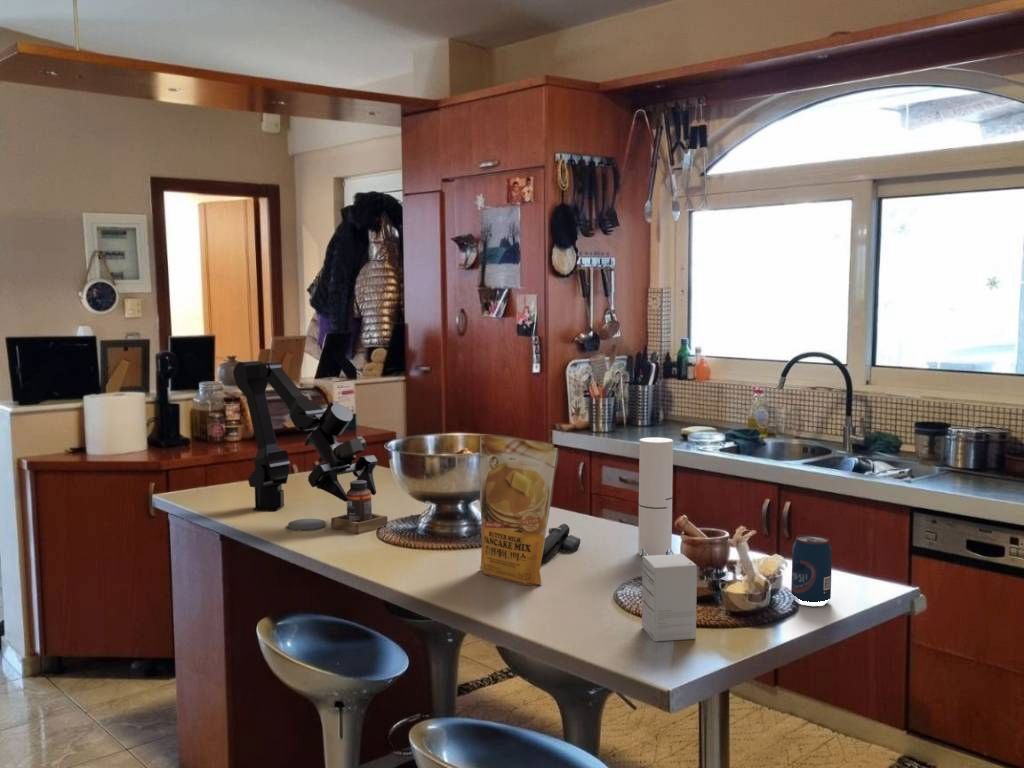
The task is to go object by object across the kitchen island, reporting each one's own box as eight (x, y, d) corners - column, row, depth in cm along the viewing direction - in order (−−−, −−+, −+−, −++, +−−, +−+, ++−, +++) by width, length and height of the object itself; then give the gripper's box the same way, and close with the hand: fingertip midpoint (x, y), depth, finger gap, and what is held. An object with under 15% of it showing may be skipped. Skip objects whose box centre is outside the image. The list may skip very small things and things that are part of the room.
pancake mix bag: (490, 564, 206) (489, 431, 203) (560, 582, 193) (561, 441, 191) (467, 571, 201) (466, 435, 198) (538, 590, 188) (539, 445, 186)
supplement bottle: (374, 524, 240) (373, 479, 239) (368, 530, 234) (367, 484, 233) (350, 524, 241) (349, 478, 240) (344, 530, 235) (343, 483, 234)
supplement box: (682, 624, 169) (683, 552, 167) (696, 640, 161) (698, 564, 160) (640, 627, 168) (641, 554, 166) (653, 642, 160) (654, 566, 159)
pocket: (331, 528, 237) (331, 518, 237) (360, 520, 244) (360, 511, 244) (358, 534, 231) (358, 523, 231) (387, 526, 239) (387, 516, 238)
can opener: (555, 544, 223) (555, 519, 222) (584, 547, 220) (584, 522, 220) (523, 563, 207) (523, 537, 206) (553, 567, 204) (554, 541, 203)
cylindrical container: (678, 553, 214) (679, 440, 211) (657, 559, 209) (658, 443, 207) (652, 547, 219) (653, 436, 217) (631, 553, 214) (632, 439, 212)
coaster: (283, 530, 235) (283, 526, 235) (295, 521, 244) (295, 518, 244) (319, 531, 234) (319, 527, 234) (330, 522, 243) (330, 519, 243)
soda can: (783, 601, 181) (784, 537, 180) (806, 594, 185) (808, 531, 184) (815, 611, 176) (817, 545, 175) (838, 603, 180) (840, 539, 179)
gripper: (314, 431, 231) (348, 482, 225) (372, 422, 246) (404, 470, 240) (293, 461, 236) (325, 512, 231) (350, 451, 251) (382, 498, 245)
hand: (361, 497), depth 237 cm, fingers open, 9 cm apart
